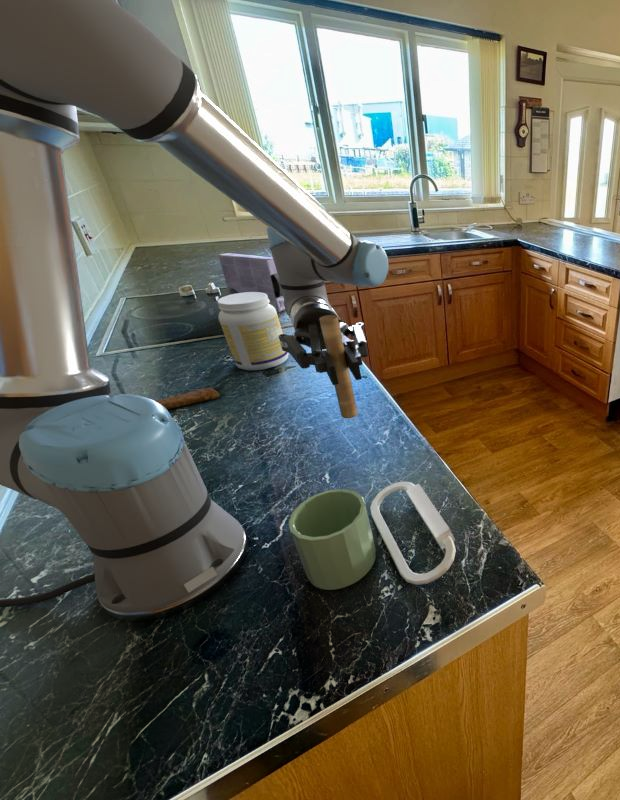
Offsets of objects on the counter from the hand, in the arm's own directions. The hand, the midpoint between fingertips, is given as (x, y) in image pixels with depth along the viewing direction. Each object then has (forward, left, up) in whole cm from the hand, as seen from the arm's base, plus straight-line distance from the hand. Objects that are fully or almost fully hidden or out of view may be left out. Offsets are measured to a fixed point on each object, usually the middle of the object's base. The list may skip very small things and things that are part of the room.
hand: (345, 373), depth 59 cm
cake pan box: (-8, +113, -21) cm, 115 cm away
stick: (0, +5, -10) cm, 11 cm away
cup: (-7, -12, -21) cm, 26 cm away
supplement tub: (-11, +64, -21) cm, 68 cm away
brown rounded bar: (-30, +48, -21) cm, 60 cm away
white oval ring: (+3, -13, -21) cm, 25 cm away
